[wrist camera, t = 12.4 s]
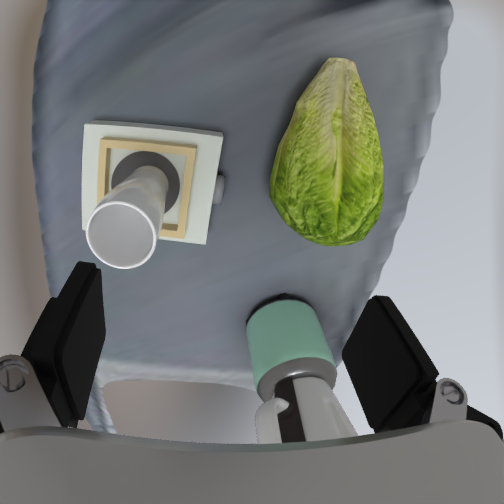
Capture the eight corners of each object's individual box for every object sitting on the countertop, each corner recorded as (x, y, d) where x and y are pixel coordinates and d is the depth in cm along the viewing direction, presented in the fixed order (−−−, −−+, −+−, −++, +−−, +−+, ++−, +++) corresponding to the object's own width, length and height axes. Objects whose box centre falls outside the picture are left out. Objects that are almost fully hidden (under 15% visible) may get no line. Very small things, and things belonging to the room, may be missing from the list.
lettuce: (383, 79, 40) (420, 62, 28) (359, 232, 49) (385, 266, 36) (285, 60, 41) (287, 32, 28) (265, 218, 49) (260, 249, 37)
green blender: (333, 321, 61) (402, 485, 30) (281, 358, 64) (320, 519, 34) (270, 264, 53) (332, 475, 22) (212, 312, 56) (224, 512, 26)
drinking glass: (128, 210, 41) (94, 272, 28) (120, 161, 37) (77, 205, 25) (177, 206, 41) (162, 268, 28) (172, 155, 38) (151, 196, 25)
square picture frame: (94, 120, 38) (78, 126, 33) (231, 133, 42) (233, 141, 37) (91, 218, 45) (77, 236, 40) (213, 232, 49) (214, 252, 44)
